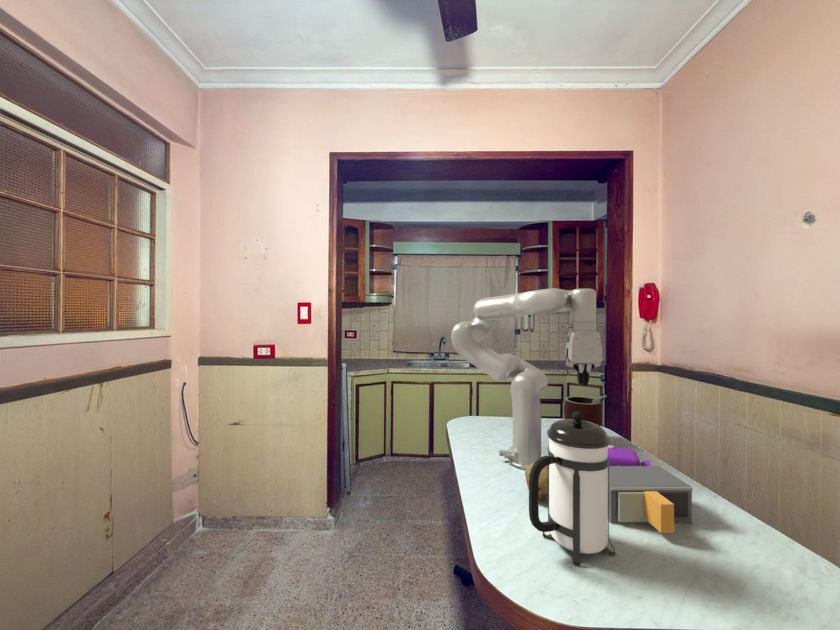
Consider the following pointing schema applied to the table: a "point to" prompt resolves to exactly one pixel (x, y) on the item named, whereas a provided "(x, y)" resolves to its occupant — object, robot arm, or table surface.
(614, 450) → the toy camera
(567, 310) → the robot arm
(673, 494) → the box
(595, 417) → the mate gourd
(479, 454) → the table surface
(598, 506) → the coffee press
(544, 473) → the natural sponge
